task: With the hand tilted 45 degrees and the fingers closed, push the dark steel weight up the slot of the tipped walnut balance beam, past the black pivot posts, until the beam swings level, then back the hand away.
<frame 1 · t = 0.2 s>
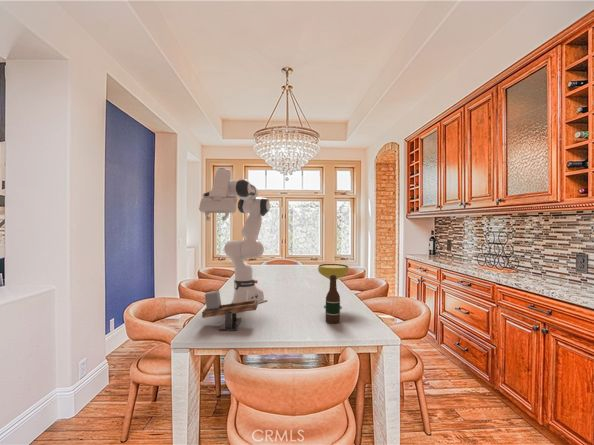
hand: (215, 220, 175), 52 cm above the table, tool tilted 20°, fingers open, 8 cm apart
beer bottle: (332, 321, 173), on the table
cocktail glass: (332, 307, 202), on the table
steel weight: (214, 310, 166), point 7 cm above the table, tilted 9°, touching balance beam
pivot stand: (231, 325, 166), on the table
balance beam: (230, 309, 166), point 8 cm above the table, hinge at -8.8°, touching steel weight
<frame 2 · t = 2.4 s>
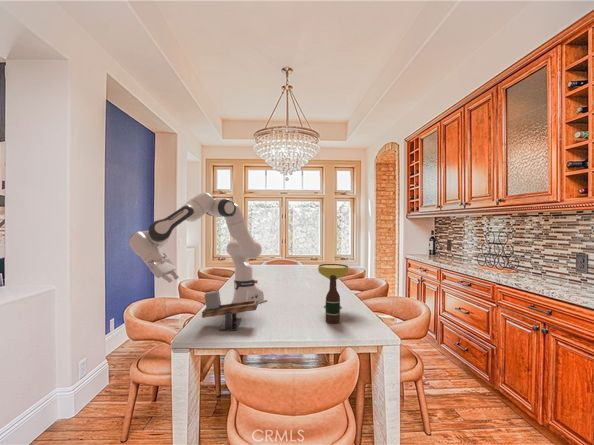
hand: (174, 280, 165), 22 cm above the table, tool tilted 45°, fingers open, 8 cm apart
nothing on the table moved.
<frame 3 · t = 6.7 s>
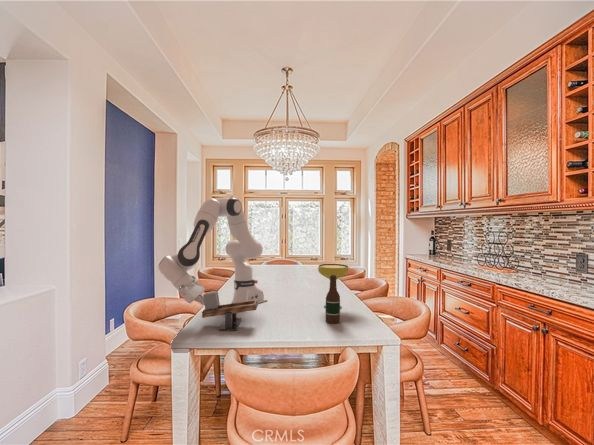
hand: (204, 303, 166), 11 cm above the table, tool tilted 45°, fingers closed, pressing on steel weight
steel weight: (213, 310, 166), point 7 cm above the table, tilted 9°, touching balance beam, gripper
everything else where it was.
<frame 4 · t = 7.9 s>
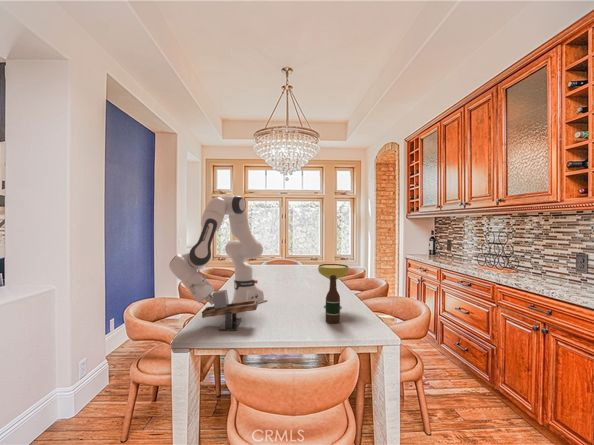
hand: (214, 303, 165), 11 cm above the table, tool tilted 45°, fingers closed, pressing on steel weight
steel weight: (222, 309, 165), point 8 cm above the table, tilted 9°, touching gripper
balance beam: (230, 309, 166), point 8 cm above the table, hinge at -8.7°
everything else where it was.
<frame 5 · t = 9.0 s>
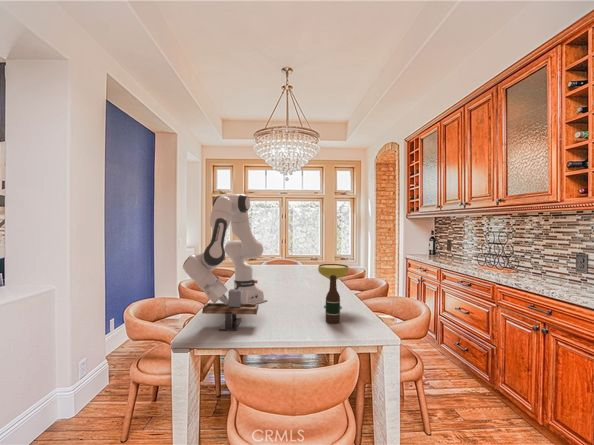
hand: (228, 303, 165), 11 cm above the table, tool tilted 45°, fingers closed, pressing on steel weight
steel weight: (235, 308, 165), point 8 cm above the table, touching gripper
balance beam: (231, 309, 166), point 8 cm above the table, hinge at 0.7°
everything else where it was.
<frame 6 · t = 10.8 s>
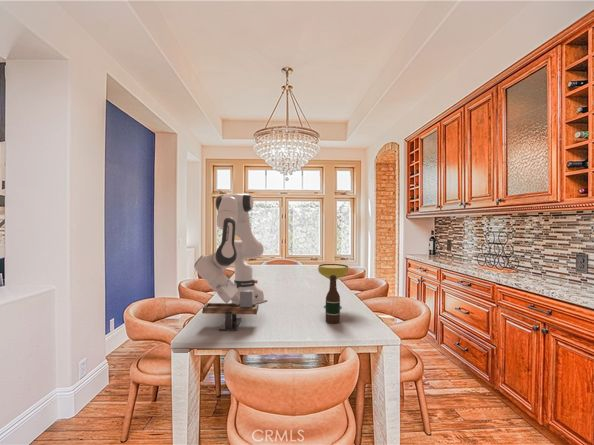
hand: (239, 303, 165), 11 cm above the table, tool tilted 45°, fingers closed, pressing on steel weight
steel weight: (246, 308, 165), point 8 cm above the table, touching balance beam, gripper
balance beam: (231, 309, 166), point 8 cm above the table, hinge at 0.8°, touching steel weight
everything else where it was.
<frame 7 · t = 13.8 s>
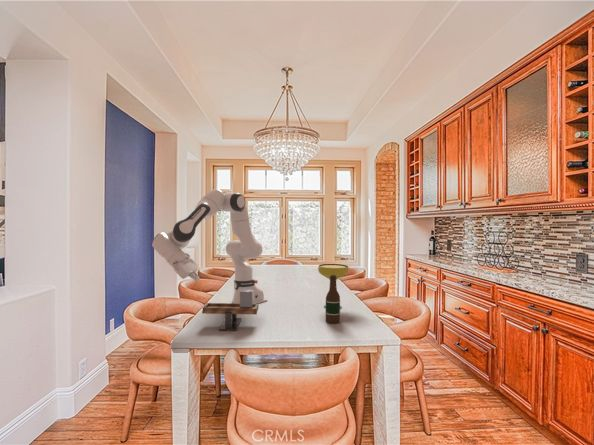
hand: (198, 280, 165), 22 cm above the table, tool tilted 45°, fingers closed
steel weight: (246, 308, 165), point 8 cm above the table, touching balance beam
everything else where it was.
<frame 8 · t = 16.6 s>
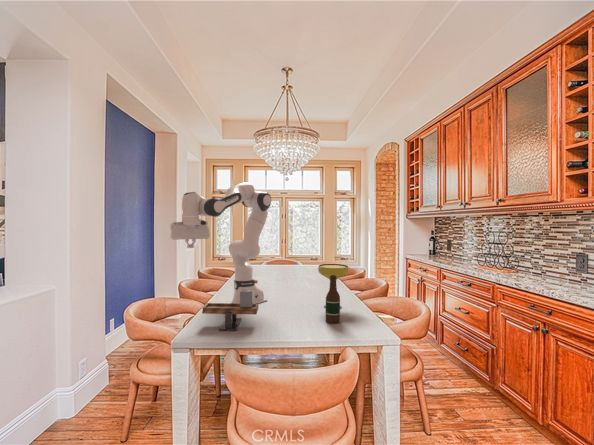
hand: (190, 247, 180), 37 cm above the table, tool pointing down, fingers closed
nothing on the table moved.
at the end: balance beam at +1° (first picture: -9°); steel weight inside the target area on the balance beam (0.8 cm from its centre), point 1.4 cm above the balance beam's base; steel weight tilted 1° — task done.
